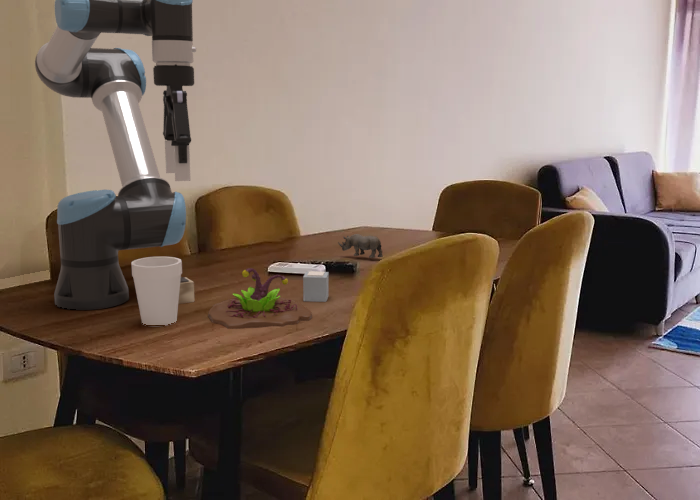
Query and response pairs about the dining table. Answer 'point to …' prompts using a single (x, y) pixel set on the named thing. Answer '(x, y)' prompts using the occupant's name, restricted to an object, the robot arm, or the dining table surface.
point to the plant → (258, 307)
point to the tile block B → (315, 286)
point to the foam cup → (157, 288)
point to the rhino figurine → (362, 244)
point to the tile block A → (186, 291)
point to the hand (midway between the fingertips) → (177, 176)
